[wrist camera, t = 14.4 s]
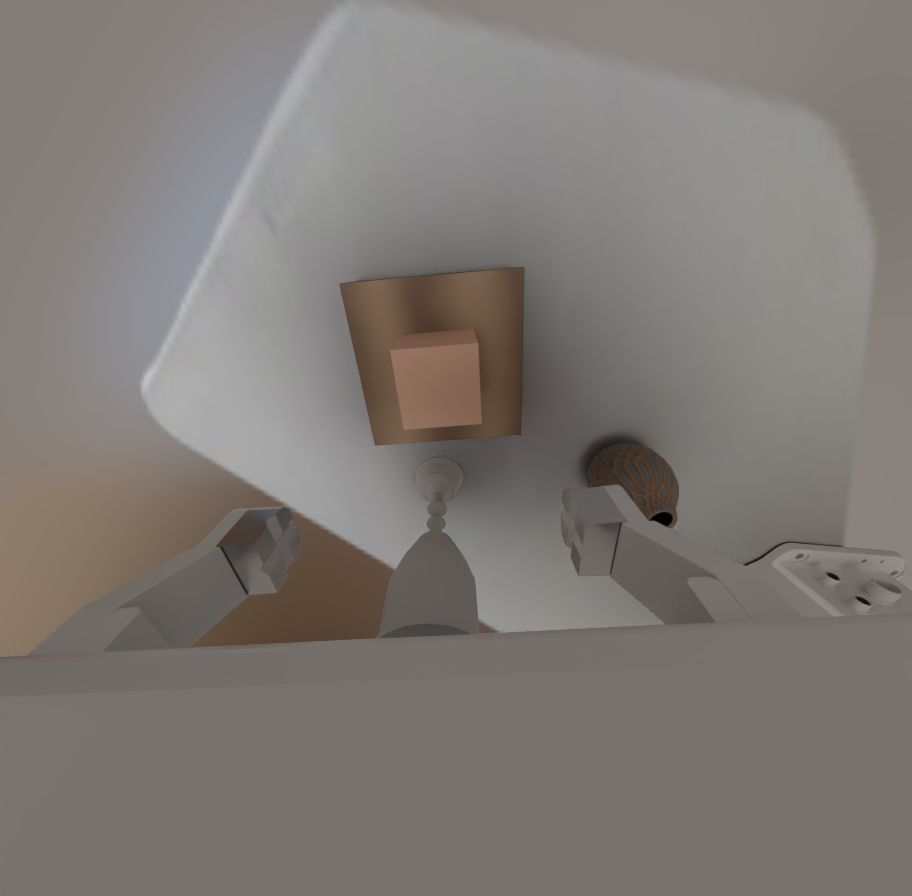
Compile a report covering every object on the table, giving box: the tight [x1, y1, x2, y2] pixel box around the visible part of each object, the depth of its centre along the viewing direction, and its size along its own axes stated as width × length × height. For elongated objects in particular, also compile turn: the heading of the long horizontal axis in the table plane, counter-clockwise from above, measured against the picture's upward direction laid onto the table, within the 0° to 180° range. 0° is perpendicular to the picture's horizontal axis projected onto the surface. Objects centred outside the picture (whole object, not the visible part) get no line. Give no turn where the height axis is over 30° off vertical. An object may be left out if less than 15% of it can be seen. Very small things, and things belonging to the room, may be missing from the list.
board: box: [340, 267, 524, 445], centre depth 26 cm, size 12×12×4 cm
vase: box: [587, 443, 679, 529], centre depth 29 cm, size 7×7×9 cm
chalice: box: [376, 457, 479, 639], centre depth 26 cm, size 7×7×18 cm
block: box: [390, 329, 482, 430], centre depth 22 cm, size 5×5×5 cm
